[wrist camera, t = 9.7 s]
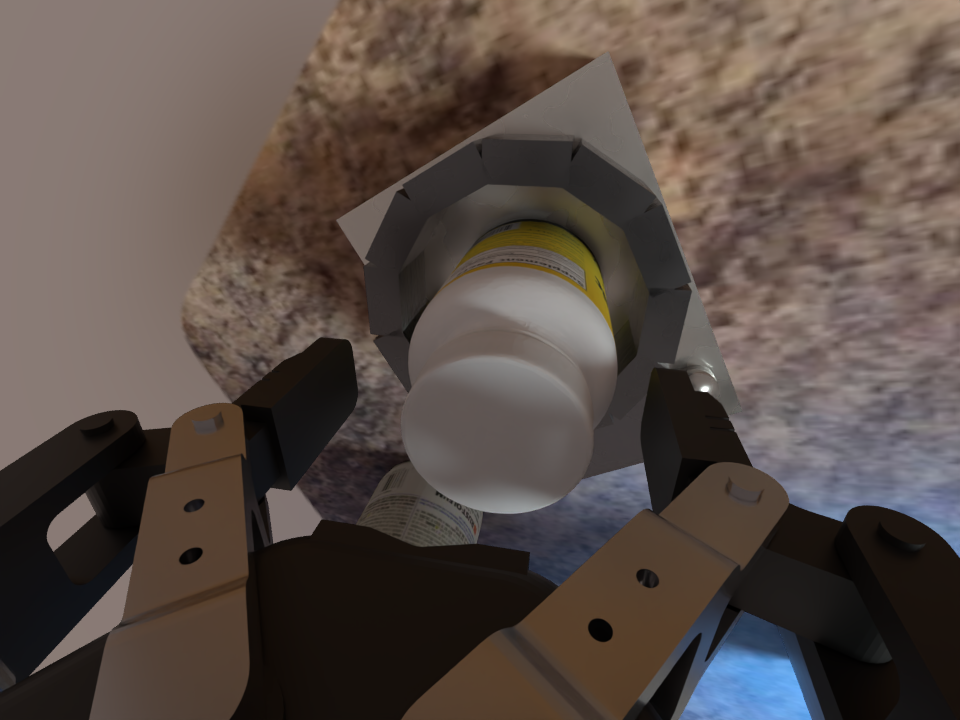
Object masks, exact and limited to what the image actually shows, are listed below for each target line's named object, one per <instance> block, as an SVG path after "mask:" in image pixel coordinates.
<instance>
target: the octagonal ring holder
mask: <svg viewBox="0 0 960 720" xmlns="http://www.w3.org/2000/svg"><path fill="white" fill-rule="evenodd" d="M518 218H541V219H547V220H551V221H554V222H557V223H559V224H561V225H564V226H565V227H567V228H569V229H571V230H572V231H573V232H575V233H576V234H577V235H579V236H580V237H581V238H582V239H583V240H584V241H585V242H586V243H587V245H588V246H589V247H590V249H591V250H592V252H593V253H594V255H595V257H596V259H597V262H598V264H599V267H600V270H601V274H602V278H603V282H604V288H605V294H606V299H607V303H608V309H609V314H610V320H611V325H612V330H613V335H614V340H615V345H616V353H617V367H618V369H617V382H616V387H615V391H614V395H613V398H612V401H611V403H610V406H609V408H608V410H607V412H606V413H605V415H604V417H603V418H602V420H601V421H600V422H599V424H598V425H597V426H596V427H595V428H594V430H593V432H594V447H593V454H592V458H591V461H590V464H589V466H588V469H587V471H586V473H585V475H584V476H583V478H582V479H584V478H588V477H592V476H595V475H599V474H603V473H606V472H610V471H614V470H617V469H621V468H625V467H628V466H632V465H636V464H639V463H643V462H644V459H643V454H642V448H641V440H640V433H641V422H642V416H643V411H644V406H645V401H646V396H647V391H648V386H649V381H650V376H651V372H652V370H653V368H654V367H656V368H667V369H678V370H686V371H687V373H688V376H689V378H690V380H691V383H692V385H693V388H694V390H695V391H703V392H708V393H709V394H710V395H712V396H713V397H714V398H715V399H716V400H718V401H719V402H720V403H721V404H722V405H723V407H724V409H725V411H726V413H727V415H728V416H729V415H732V414H735V413H739V412H742V409H741V406H740V403H739V400H738V398H737V395H736V392H735V390H734V387H733V384H732V382H731V379H730V376H729V374H728V371H727V368H726V366H725V363H724V360H723V358H722V355H721V352H720V350H719V347H718V344H717V341H716V339H715V336H714V333H713V331H712V328H711V325H710V323H709V320H708V317H707V315H706V312H705V309H704V307H703V304H702V301H701V299H700V296H699V293H698V290H697V288H696V285H695V282H694V280H693V277H692V274H691V272H690V269H689V266H688V264H687V261H686V258H685V256H684V253H683V250H682V248H681V245H680V242H679V239H678V237H677V234H676V231H675V229H674V226H673V223H672V221H671V218H670V215H669V213H668V210H667V207H666V205H665V202H664V199H663V197H662V194H661V191H660V189H659V186H658V183H657V180H656V178H655V175H654V172H653V170H652V167H651V164H650V162H649V159H648V156H647V154H646V151H645V148H644V146H643V143H642V140H641V138H640V135H639V132H638V129H637V127H636V124H635V121H634V119H633V116H632V113H631V111H630V108H629V105H628V103H627V100H626V97H625V95H624V92H623V89H622V87H621V84H620V81H619V79H618V76H617V73H616V70H615V68H614V65H613V62H612V60H611V57H610V54H609V52H606V53H604V54H603V55H601V56H600V57H598V58H596V59H595V60H593V61H592V62H590V63H588V64H587V65H585V66H583V67H582V68H580V69H579V70H577V71H575V72H574V73H572V74H571V75H569V76H567V77H566V78H564V79H563V80H561V81H559V82H558V83H556V84H554V85H553V86H551V87H550V88H548V89H546V90H545V91H543V92H542V93H540V94H538V95H537V96H535V97H534V98H532V99H530V100H529V101H527V102H526V103H524V104H522V105H521V106H519V107H517V108H516V109H514V110H513V111H511V112H509V113H508V114H506V115H505V116H503V117H501V118H500V119H498V120H497V121H495V122H493V123H492V124H490V125H488V126H487V127H485V128H484V129H482V130H480V131H479V132H477V133H476V134H474V135H472V136H471V137H469V138H468V139H466V140H464V141H463V142H461V143H459V144H458V145H456V146H455V147H453V148H451V149H450V150H448V151H447V152H445V153H443V154H442V155H440V156H439V157H437V158H435V159H434V160H432V161H430V162H429V163H427V164H426V165H424V166H422V167H421V168H419V169H418V170H416V171H414V172H413V173H411V174H410V175H408V176H406V177H405V178H403V179H401V180H400V181H398V182H397V183H395V184H393V185H392V186H390V187H389V188H387V189H385V190H384V191H382V192H381V193H379V194H377V195H376V196H374V197H373V198H371V199H369V200H368V201H366V202H364V203H363V204H361V205H360V206H358V207H356V208H355V209H353V210H352V211H350V212H348V213H347V214H345V215H344V216H342V217H340V218H339V219H337V220H336V221H337V222H338V224H339V226H340V227H341V229H342V230H343V232H344V233H345V235H346V237H347V238H348V240H349V241H350V243H351V244H352V246H353V248H354V249H355V251H356V252H357V254H358V255H359V257H360V259H361V260H362V262H363V263H364V265H365V266H364V276H365V285H366V295H367V304H368V314H369V323H370V333H371V334H374V335H378V336H377V337H376V338H375V340H374V343H375V344H376V346H377V347H378V349H379V350H380V352H381V353H382V355H383V356H384V358H385V359H386V361H387V362H388V364H389V365H390V367H391V368H392V370H393V371H394V373H395V374H396V376H397V377H398V379H399V380H400V382H401V383H402V385H403V386H404V387H405V389H406V390H407V392H408V393H409V391H410V389H411V387H412V386H411V381H410V377H409V368H408V355H409V347H410V342H411V338H412V335H413V332H414V329H415V327H416V324H417V323H418V321H419V319H420V317H421V315H422V313H423V312H424V310H425V309H426V307H427V306H428V304H429V303H430V302H431V300H432V299H433V298H434V296H435V295H436V294H437V292H438V291H439V290H440V289H441V287H442V286H443V284H444V283H445V282H446V280H447V279H448V278H449V276H450V275H451V273H452V272H453V271H454V270H455V268H456V267H457V265H458V264H459V263H460V261H461V260H462V258H463V257H464V256H465V254H466V253H467V252H468V250H469V249H470V248H471V247H472V245H473V244H474V243H475V242H476V241H477V240H478V239H479V238H480V237H481V236H482V235H483V234H485V233H486V232H487V231H489V230H490V229H492V228H493V227H495V226H497V225H499V224H501V223H503V222H506V221H509V220H513V219H518Z"/></svg>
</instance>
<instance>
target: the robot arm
mask: <svg viewBox="0 0 960 720" xmlns="http://www.w3.org/2000/svg"><path fill="white" fill-rule="evenodd" d="M357 397H358V387H357V380H356V372H355V365H354V358H353V351H352V346H351V344H350V342H349V341H348V340H346V339H334V338H323V337H321V338H319V339H317V340H316V341H315V342H314V343H313V344H311V345H310V346H309V347H308V348H307V349H306V350H304V351H303V352H302V353H299V354H297V355H295V356H293V357H290V358H288V359H286V360H284V361H283V362H281V363H280V364H279V365H278V366H277V367H275V368H274V369H273V370H272V372H269V373H268V374H267V375H266V376H264V377H263V378H262V381H261V380H260V381H258V382H257V383H256V384H255V385H254V386H252V387H251V388H250V389H249V390H247V391H246V392H245V393H244V394H243V395H241V396H240V397H239V398H238V399H237V400H235V401H234V402H233V403H232V404H231V403H215V404H209V405H205V406H201V407H198V408H196V409H193V410H191V411H189V412H187V413H185V414H183V415H182V416H181V417H179V418H178V419H177V420H176V421H175V422H174V423H173V425H172V428H162V429H149V430H142V427H141V426H140V422H139V420H138V417H137V415H136V414H135V413H133V412H131V411H126V410H115V411H107V412H103V413H98V414H95V415H92V416H89V417H86V418H84V419H81V420H79V421H77V422H75V423H74V424H72V425H70V426H69V427H67V428H65V429H64V430H63V431H61V432H59V433H58V434H56V435H55V436H53V437H52V438H50V439H49V440H47V441H45V442H44V443H42V444H41V445H39V446H38V447H37V448H35V449H33V450H32V451H30V452H28V453H27V454H25V455H24V456H22V457H21V458H19V459H18V460H16V461H15V462H13V463H12V464H10V465H8V466H7V467H5V468H4V469H2V470H1V471H0V720H678V719H679V718H680V716H681V714H682V713H683V711H684V709H685V707H686V705H687V703H688V702H689V700H690V698H691V696H692V694H693V692H694V690H695V688H696V686H697V684H698V682H699V681H700V679H701V677H702V675H703V674H704V672H705V671H706V669H707V668H708V666H709V665H710V663H711V662H712V660H713V659H714V657H715V656H716V654H717V653H718V651H719V649H720V648H721V646H722V645H723V643H724V642H725V640H726V639H727V637H728V636H729V634H730V633H731V631H732V630H733V628H734V627H735V625H736V624H737V622H738V620H739V619H740V617H741V616H742V614H743V613H744V611H745V612H747V613H750V614H752V615H754V616H757V617H759V618H761V619H764V620H766V621H768V622H771V623H773V624H775V625H777V627H778V630H779V633H780V635H781V638H782V640H783V643H784V646H785V648H786V651H787V654H788V656H789V659H790V662H791V664H792V667H793V670H794V672H795V675H796V678H797V680H798V683H799V685H800V688H801V691H802V693H803V697H804V700H805V702H806V705H807V708H808V710H809V713H810V716H811V718H812V720H960V558H959V557H958V555H957V554H956V553H955V551H954V550H953V549H952V548H951V546H950V545H949V544H948V543H947V542H946V541H945V540H944V539H943V538H942V537H941V536H940V535H939V534H937V533H936V532H935V531H933V530H932V529H931V528H929V527H928V526H926V525H925V524H923V523H921V522H919V521H918V520H916V519H914V518H912V517H909V516H907V515H905V514H903V513H900V512H897V511H894V510H891V509H888V508H883V507H879V506H857V507H855V508H852V509H851V510H850V511H849V512H848V513H847V515H846V517H845V519H844V521H843V522H841V521H838V520H835V519H832V518H829V517H825V516H822V515H819V514H816V513H813V512H810V511H807V510H804V509H802V508H799V507H797V506H795V505H792V504H790V503H789V498H788V495H787V493H786V491H785V490H784V488H783V487H782V486H781V485H780V484H779V483H778V482H777V481H776V480H775V479H773V478H772V477H771V476H769V475H768V474H766V473H764V472H762V471H760V470H758V469H756V468H753V466H752V464H751V462H750V460H749V458H748V456H747V454H746V452H745V450H744V448H743V446H742V444H741V442H740V440H739V438H738V435H737V433H736V432H734V430H735V429H734V427H733V425H732V423H731V421H729V417H728V415H727V413H726V411H725V409H724V407H723V405H722V404H721V403H720V402H719V401H718V400H716V399H715V398H714V397H713V396H712V395H710V394H709V393H708V392H703V391H695V390H694V388H693V385H692V383H691V380H690V378H689V376H688V373H687V371H686V370H678V369H667V368H656V367H654V368H653V370H652V372H651V376H650V381H649V386H648V391H647V396H646V401H645V406H644V411H643V416H642V422H641V433H640V440H641V448H642V454H643V459H644V465H645V470H646V476H647V481H648V487H649V493H650V498H651V504H652V509H653V511H652V510H650V509H644V510H642V511H641V512H639V513H638V514H637V515H636V516H635V517H634V518H633V519H632V520H631V521H629V522H628V523H627V524H626V525H625V526H624V527H623V528H622V529H621V530H620V531H619V532H618V533H616V534H615V535H614V536H613V537H612V538H611V539H610V540H609V541H608V542H607V543H606V544H605V545H603V546H602V547H601V548H600V549H599V550H598V551H597V552H596V553H595V554H594V555H593V556H592V557H590V558H589V559H588V560H587V561H586V562H585V563H584V564H583V565H582V566H581V567H580V568H579V569H577V570H576V571H575V572H574V573H573V574H572V575H571V576H570V577H569V578H568V579H567V580H566V581H564V582H563V583H562V584H561V585H560V586H557V585H556V584H554V583H553V582H551V581H550V580H548V579H546V578H544V577H543V576H541V575H539V574H537V573H534V572H532V571H530V570H529V557H530V552H525V551H519V550H513V549H506V548H500V547H494V546H487V545H481V544H461V545H444V546H426V547H419V546H414V545H411V544H409V543H407V542H404V541H402V540H399V539H397V538H395V537H392V536H390V535H388V534H385V533H383V532H381V531H378V530H376V529H373V528H371V527H367V526H360V525H354V524H348V523H341V522H335V521H329V520H321V521H320V523H319V524H318V526H317V527H316V529H315V531H314V532H313V534H312V535H311V536H303V537H297V538H291V539H288V540H284V541H280V542H277V543H274V544H273V537H272V530H271V522H270V514H269V507H268V502H267V498H266V492H267V491H268V490H269V489H270V488H276V489H283V490H290V491H291V490H292V489H293V488H294V486H295V485H296V484H297V483H298V481H299V480H300V479H301V477H302V476H303V475H304V474H305V472H306V471H307V470H308V468H309V467H310V466H311V464H312V463H313V462H314V461H315V459H316V458H317V457H318V455H319V454H320V453H321V452H322V450H323V449H324V448H325V446H326V445H327V444H328V442H329V441H330V440H331V439H332V437H333V436H334V435H335V433H336V432H337V431H338V430H339V428H340V427H341V426H342V424H343V423H344V422H345V420H346V419H347V418H348V417H349V415H350V414H351V413H352V411H353V410H354V408H355V406H356V402H357ZM84 493H86V495H87V497H88V499H89V501H90V503H91V505H92V507H93V509H94V511H95V512H96V515H95V516H94V517H93V518H91V519H90V520H89V521H88V522H87V523H86V524H85V525H83V526H82V527H81V528H80V529H79V530H78V531H77V532H76V533H74V535H72V536H71V537H70V538H69V539H68V540H66V541H65V542H64V543H63V544H62V545H61V546H60V547H59V548H58V549H56V550H55V551H54V552H53V551H52V549H51V547H50V546H49V544H48V542H47V531H48V528H49V525H50V523H51V522H52V520H53V519H54V518H55V517H56V516H57V515H58V514H59V513H60V512H61V511H63V510H64V509H65V508H66V507H68V506H69V505H70V504H71V503H73V502H74V501H75V500H76V499H77V498H79V497H80V496H81V495H82V494H84ZM132 564H133V566H132V572H131V577H130V582H129V587H128V593H127V598H126V604H125V609H124V614H123V618H122V620H121V622H120V624H119V625H117V626H116V627H114V628H113V629H112V631H110V632H108V633H106V634H105V635H103V636H101V637H99V638H97V639H96V640H94V641H92V642H90V643H88V644H87V645H85V646H83V647H81V648H79V649H78V650H76V651H74V652H72V653H70V654H69V655H67V656H65V657H63V658H61V659H59V660H58V661H56V662H54V663H52V664H50V665H49V666H47V667H45V668H43V669H41V670H40V671H38V672H36V673H34V674H32V675H31V676H29V675H30V674H31V673H32V672H33V671H34V670H35V669H36V668H37V667H38V666H39V665H40V664H41V663H42V661H43V660H44V659H45V658H46V657H47V656H48V655H49V654H50V653H51V652H52V650H54V648H55V647H56V646H57V645H58V644H59V643H60V642H61V641H62V640H63V639H64V638H65V637H66V635H67V634H68V633H69V632H70V631H71V630H72V629H73V628H74V627H75V626H76V625H77V623H79V621H80V620H81V619H82V618H83V617H84V616H85V615H86V614H87V613H88V612H89V611H90V609H92V607H93V606H94V605H95V604H96V603H97V602H98V601H99V600H100V599H101V598H102V597H103V595H104V594H105V593H106V592H107V591H108V590H109V589H110V588H111V587H112V586H113V585H114V584H115V583H116V582H117V580H118V579H119V578H120V577H121V576H122V575H123V574H124V573H125V572H126V570H128V569H129V567H130V566H131V565H132Z"/></svg>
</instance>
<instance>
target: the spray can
mask: <svg viewBox="0 0 960 720" xmlns="http://www.w3.org/2000/svg"><path fill="white" fill-rule="evenodd" d="M482 518H483V511H479V510H476V509H472V508H469V507H467V506H464V505H462V504H459V503H457V502H455V501H453V500H451V499H449V498H447V497H446V496H444V495H443V494H441V493H440V492H438V491H437V490H436V489H434V488H433V487H432V486H431V485H430V484H428V482H427V481H426V480H425V479H424V478H423V477H422V476H421V475H420V474H419V473H418V472H417V470H416V469H415V467H414V466H413V464H412V462H411V461H408V462H404V463H401V464H398V465H395V466H394V467H393V468H392V469H391V470H390V471H389V472H388V473H387V474H386V475H385V476H384V477H383V478H382V479H381V481H380V482H379V484H378V486H377V488H376V489H375V491H374V493H373V495H372V497H371V498H370V500H369V502H368V504H367V506H366V508H365V510H364V511H363V513H362V515H361V516H360V518H359V520H358V522H357V524H356V525H360V526H367V527H371V528H373V529H376V530H378V531H381V532H383V533H385V534H388V535H390V536H392V537H395V538H397V539H399V540H402V541H404V542H407V543H409V544H411V545H414V546H419V547H426V546H444V545H461V544H477V540H478V536H479V532H480V528H481V524H482Z"/></svg>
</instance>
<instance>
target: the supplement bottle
mask: <svg viewBox="0 0 960 720" xmlns="http://www.w3.org/2000/svg"><path fill="white" fill-rule="evenodd" d="M408 368H409V377H410V381H411V386H412V387H411V389H410V391H409V393H408V395H407V397H406V399H405V402H404V405H403V409H402V414H401V435H402V440H403V444H404V447H405V450H406V453H407V455H408V457H409V459H410V461H411V462H412V464H413V466H414V467H415V469H416V470H417V472H418V473H419V474H420V475H421V476H422V477H423V478H424V479H425V480H426V481H427V482H428V484H430V485H431V486H432V487H433V488H434V489H436V490H437V491H438V492H440V493H441V494H443V495H444V496H446V497H447V498H449V499H451V500H453V501H455V502H457V503H459V504H462V505H464V506H467V507H469V508H472V509H476V510H479V511H484V512H490V513H502V514H516V513H524V512H530V511H534V510H538V509H541V508H543V507H546V506H549V505H551V504H553V503H555V502H557V501H558V500H560V499H562V498H563V497H565V496H566V495H567V494H568V493H569V492H571V491H572V490H573V489H574V488H575V487H576V486H577V484H578V483H579V482H580V481H581V479H582V478H583V476H584V475H585V473H586V471H587V469H588V466H589V464H590V461H591V458H592V454H593V447H594V432H593V430H594V428H595V427H596V426H597V425H598V424H599V422H600V421H601V420H602V418H603V417H604V415H605V413H606V412H607V410H608V408H609V406H610V403H611V401H612V398H613V395H614V391H615V387H616V382H617V369H618V367H617V353H616V345H615V340H614V335H613V330H612V325H611V320H610V314H609V309H608V303H607V299H606V294H605V288H604V282H603V278H602V274H601V270H600V267H599V264H598V262H597V259H596V257H595V255H594V253H593V252H592V250H591V249H590V247H589V246H588V245H587V243H586V242H585V241H584V240H583V239H582V238H581V237H580V236H579V235H577V234H576V233H575V232H573V231H572V230H571V229H569V228H567V227H565V226H564V225H561V224H559V223H557V222H554V221H551V220H547V219H541V218H518V219H513V220H509V221H506V222H503V223H501V224H499V225H497V226H495V227H493V228H492V229H490V230H489V231H487V232H486V233H485V234H483V235H482V236H481V237H480V238H479V239H478V240H477V241H476V242H475V243H474V244H473V245H472V247H471V248H470V249H469V250H468V252H467V253H466V254H465V256H464V257H463V258H462V260H461V261H460V263H459V264H458V265H457V267H456V268H455V270H454V271H453V272H452V273H451V275H450V276H449V278H448V279H447V280H446V282H445V283H444V284H443V286H442V287H441V289H440V290H439V291H438V292H437V294H436V295H435V296H434V298H433V299H432V300H431V302H430V303H429V304H428V306H427V307H426V309H425V310H424V312H423V313H422V315H421V317H420V319H419V321H418V323H417V324H416V327H415V329H414V332H413V335H412V338H411V342H410V347H409V355H408Z"/></svg>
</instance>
